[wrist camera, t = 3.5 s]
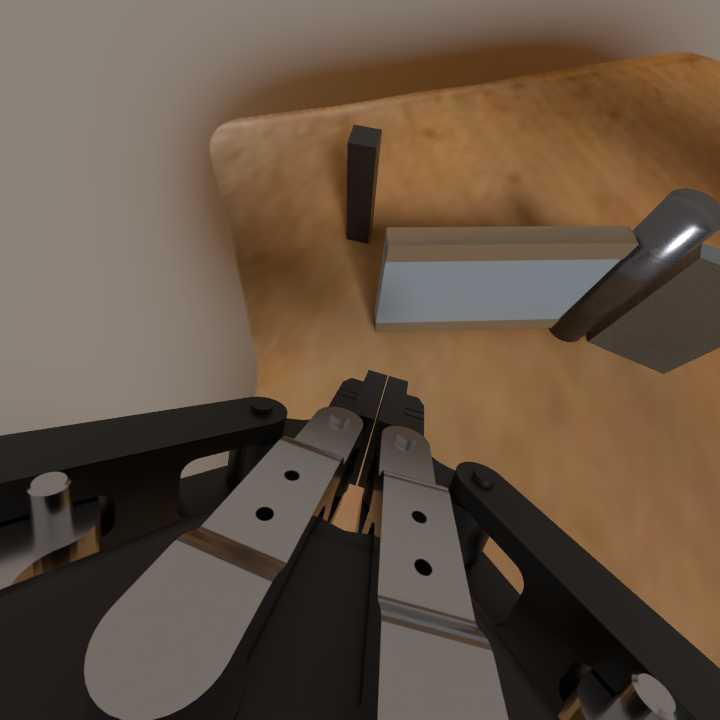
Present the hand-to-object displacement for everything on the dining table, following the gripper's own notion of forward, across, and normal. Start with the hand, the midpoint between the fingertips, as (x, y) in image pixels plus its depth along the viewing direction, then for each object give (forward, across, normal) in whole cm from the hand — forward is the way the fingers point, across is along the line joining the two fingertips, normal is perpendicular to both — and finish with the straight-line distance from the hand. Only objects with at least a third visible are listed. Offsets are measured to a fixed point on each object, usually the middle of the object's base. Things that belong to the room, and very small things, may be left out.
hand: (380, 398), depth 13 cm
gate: (+16, -5, -1) cm, 17 cm away
